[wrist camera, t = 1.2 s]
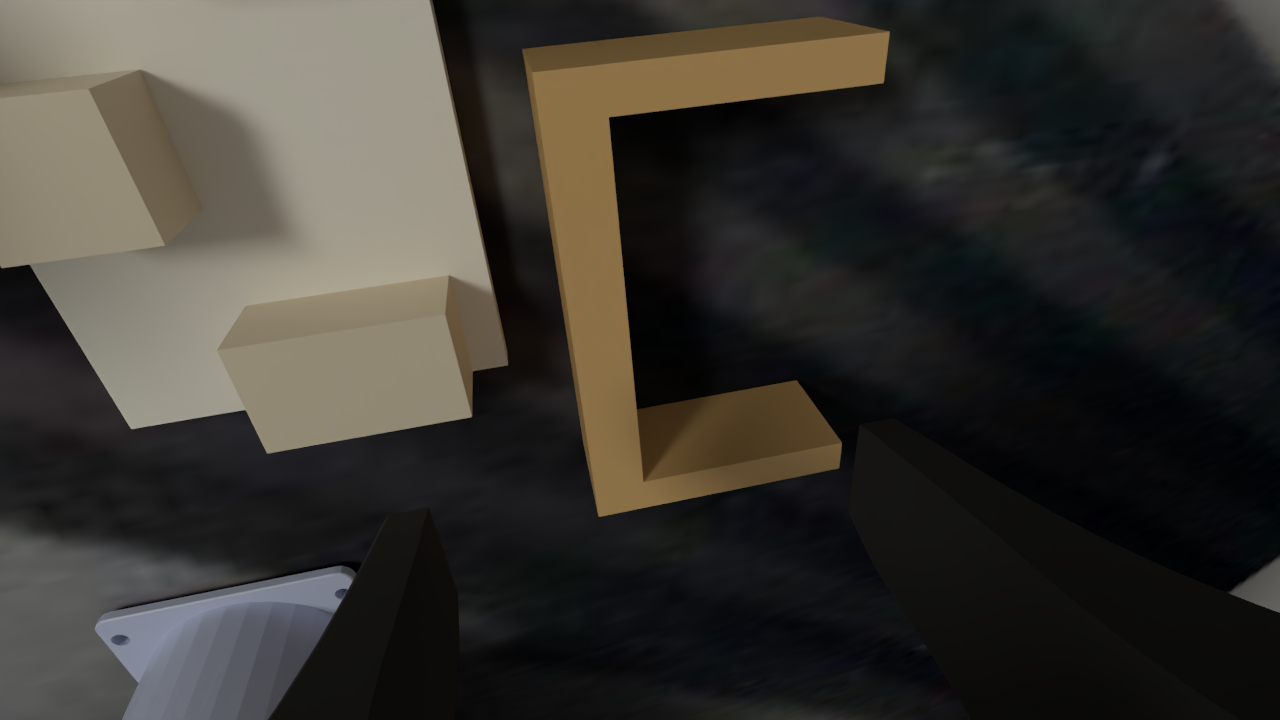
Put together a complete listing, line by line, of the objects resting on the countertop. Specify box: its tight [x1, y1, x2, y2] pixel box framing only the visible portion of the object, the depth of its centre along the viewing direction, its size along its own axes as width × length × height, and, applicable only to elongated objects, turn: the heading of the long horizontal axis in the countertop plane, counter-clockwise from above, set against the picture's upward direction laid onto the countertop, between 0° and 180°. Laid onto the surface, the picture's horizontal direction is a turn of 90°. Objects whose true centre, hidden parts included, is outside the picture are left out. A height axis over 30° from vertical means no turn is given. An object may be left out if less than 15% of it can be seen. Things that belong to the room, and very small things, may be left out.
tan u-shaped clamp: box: [523, 17, 890, 517], centre depth 18 cm, size 7×12×3 cm, turn 4°
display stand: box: [0, 0, 508, 453], centre depth 14 cm, size 10×14×3 cm
